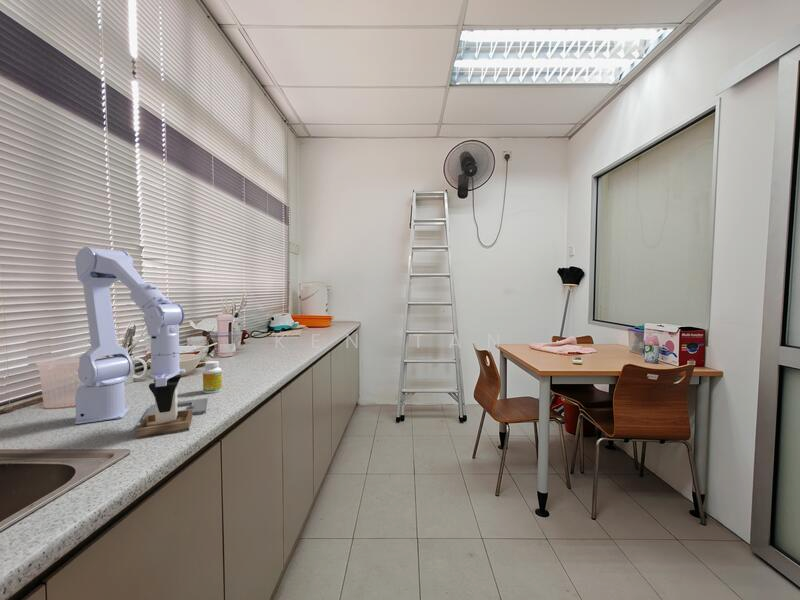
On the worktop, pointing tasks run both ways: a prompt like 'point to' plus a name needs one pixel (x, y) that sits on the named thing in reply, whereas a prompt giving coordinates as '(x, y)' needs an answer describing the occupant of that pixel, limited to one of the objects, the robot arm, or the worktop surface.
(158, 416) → the block
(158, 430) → the tray
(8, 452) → the worktop surface
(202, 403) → the frame
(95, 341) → the robot arm
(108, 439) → the worktop surface
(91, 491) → the worktop surface
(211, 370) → the supplement bottle
